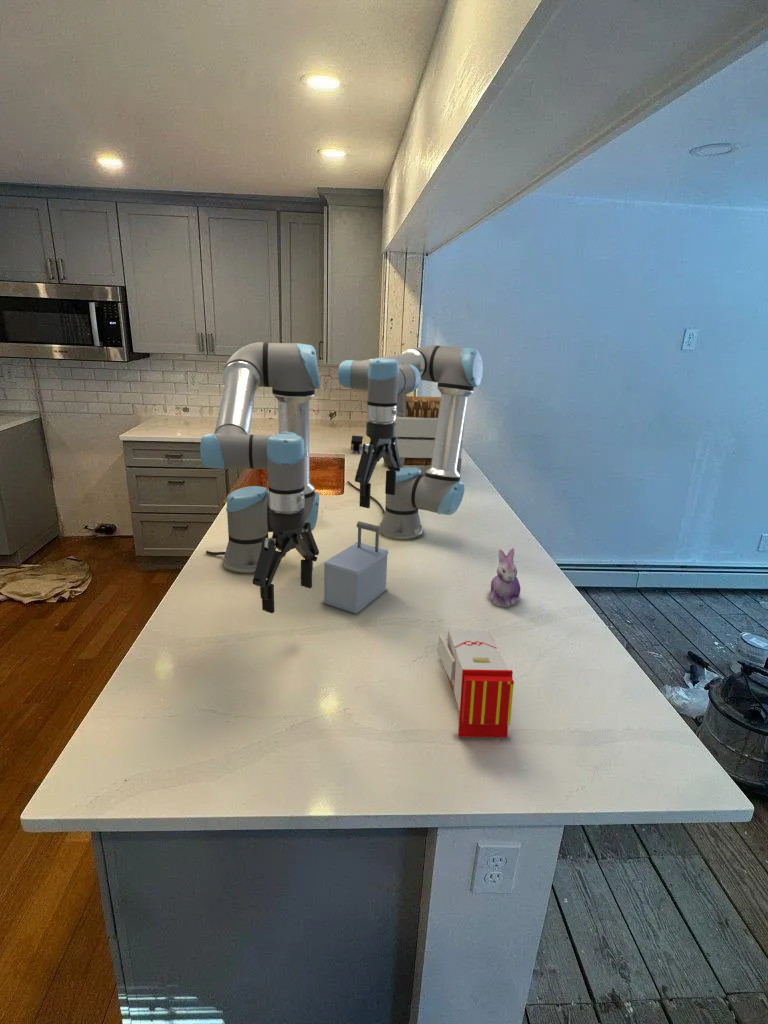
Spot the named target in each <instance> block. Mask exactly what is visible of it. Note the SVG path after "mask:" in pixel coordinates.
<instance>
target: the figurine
mask: <svg viewBox="0 0 768 1024" xmlns="http://www.w3.org/2000/svg"><path fill="white" fill-rule="evenodd" d="M514 558H515V548H514V547H512V548H511V549H509V551H508V553H507V555H506V554H505V551H503V549H501V548H499V549H498V565H497V568H496V574H497V575H495V576H494V577H493V578H492V579H491V582H490V591H489V599H490V600H491V601H492V602H493V604H494V605H495V606H497V607H503V608H507V607H510V606H514V605H516V603H518V601H519V597H520V594H521V584H520V581H519V579H518V577H517V576H518V569H517V567H516V564H515V561H514Z"/></svg>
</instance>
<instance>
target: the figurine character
mask: <svg viewBox="0 0 768 1024" xmlns="http://www.w3.org/2000/svg"><path fill="white" fill-rule="evenodd" d="M363 439H364V436H363V435H351V441H350V451H352V454H355V453H357V454H360V451H361V452H362V448H363Z"/></svg>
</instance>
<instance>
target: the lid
mask: <svg viewBox="0 0 768 1024" xmlns="http://www.w3.org/2000/svg"><path fill="white" fill-rule="evenodd" d="M356 528H357V542H354V544H352V545H350V546H349V547H347V548H345V549H343V550H342V551H340V552H339V553H337V554H334V555H333V556H332V557H330V558H329V559H327V560H325V561H324V563H323V567H324V566H328V567H331V568H334V569H338V570H341V571H344V572H348V573H351V574H355V575H359V574H360V573H361V572H363V571H364V570H366V569H367V568H369V567H370V566H371V565H373V564H374V563H376V562H377V561H379V560H380V559H382V558H383V557H384V556H386V555H387V556H388V555H389V550H388V549H385V548H381V547H379V544H380V530H381V527H380V525H376V524H372V523H368V522H363V521H357V523H356ZM362 529H363V530H366V531H369V532H373V533H375V541H374V542H375V543H374V546H373V545H369V544H365V543H362Z"/></svg>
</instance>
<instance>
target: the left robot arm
mask: <svg viewBox="0 0 768 1024" xmlns="http://www.w3.org/2000/svg"><path fill="white" fill-rule="evenodd" d="M316 352H317V351H316V348H315V347H314V346H313V345H311V344H305V343H299V342H262V341H261V342H260V341H257V342H253V343H252V342H251V343H248V344H247V345H244V346H243V347H241V348H240V349H238V350H237V351H235V352H233V354H232V355H231V356H230V357H229V358H228V360H227V361H226V362H225V364H224V367H223V369H222V375H221V377H222V382H223V385H224V387H223V389H222V390H223V391H222V396H221V400H220V404H219V409H218V414H217V418H216V423H215V427H214V428H215V429H214V432H211V433H206V434H203V435H202V437H201V438H200V446H199V447H200V451H199V453H200V459H201V463H202V465H203V466H204V468H207V469H219V470H267V478H268V479H267V483H268V486H267V487H268V489H267V488H266V487H265V486H260V485H251V486H244V487H241V488H238V489H235V490H233V491H231V492H230V493H229V494H228V495H227V498H226V509H225V510H226V516H227V517H226V518H227V533H228V541H227V544H226V548H225V551H210V550H206V551H205V554H206V555H210V556H223V559H222V561H223V567H224V568H225V569H226V570H227V571H229V572H232V573H236V574H243V575H245V574H248V575H249V574H253V578H252V581H251V583H252V585H253V586H254V585H255V586H257V587H259V592H260V594H259V595H260V599H261V610H262V611H264V612H266V613H270V614H274V613H275V585H274V583H272V582H273V581H274V578H275V576H276V573H277V571H278V570H279V569H278V568H279V567H280V564H281V562H282V559H283V558H285V557H286V555H287V554H288V553H289V552H290V551H291V550H294V549H295V550H296V551H297V552H298V554H299V555H300V556H301V557H302V558H303V559H300V586H301V587H304V588H307V589H312V588H313V571H314V563H315V562H317V561H318V556H319V555H320V551H319V548H318V545H317V542H316V539H315V537H314V534H313V532H312V531H314V530H315V528H316V526H317V522H318V515H319V506H320V493H318V492H316V491H315V490H316V488H315V486H314V485H313V484H312V483H311V482H310V401H311V399H313V398H314V396H315V395H316V390H318V389H320V387H321V384H320V376H319V369H318V360H317V359H318V358H317V353H316ZM260 387H261V388H262V387H263V388H271V390H272V392H271V393H272V395H273V397H274V398H276V400H277V415H278V416H277V417H278V419H277V420H278V422H277V423H278V433H276V434H251V433H250V432H251V425H252V417H253V409H254V403H255V395H256V391H257V390H258V389H259V388H260ZM269 533H272V535H271V537H269Z"/></svg>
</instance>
